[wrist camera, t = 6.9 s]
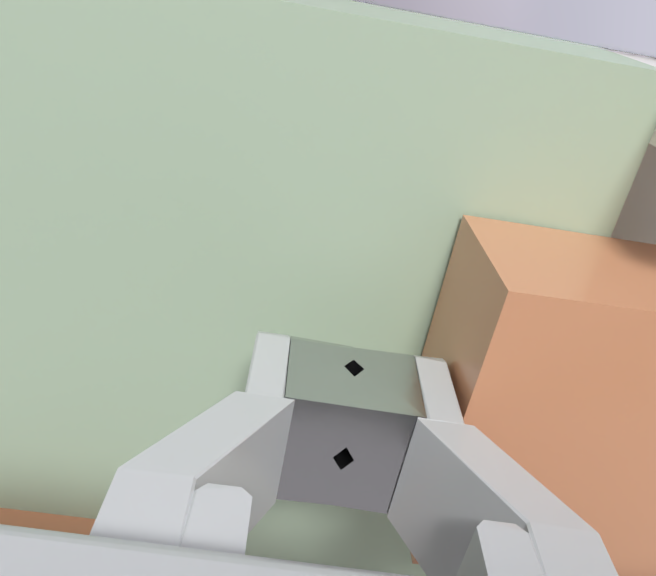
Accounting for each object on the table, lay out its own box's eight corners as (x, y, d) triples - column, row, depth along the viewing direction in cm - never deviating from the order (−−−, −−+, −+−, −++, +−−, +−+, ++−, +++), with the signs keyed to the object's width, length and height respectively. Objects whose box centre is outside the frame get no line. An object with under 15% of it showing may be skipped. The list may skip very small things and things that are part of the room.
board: (-197, -103, 11) (-375, -123, 8) (598, 47, 12) (677, 74, 9) (-67, 591, 19) (-131, 694, 16) (390, 641, 20) (398, 745, 17)
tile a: (462, 214, 10) (509, 291, 8) (752, 259, 10) (873, 343, 8) (392, 452, 12) (412, 563, 10) (632, 479, 13) (701, 590, 11)
